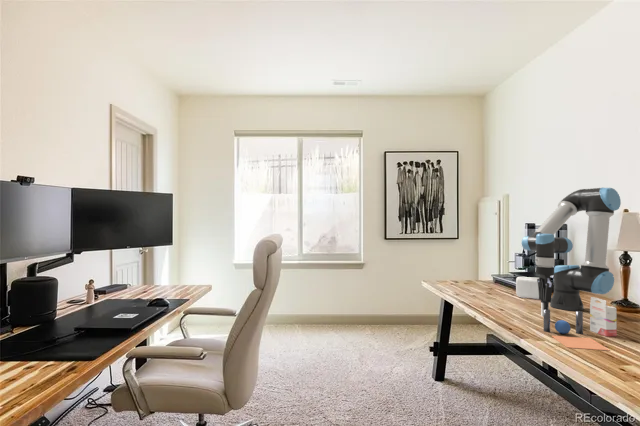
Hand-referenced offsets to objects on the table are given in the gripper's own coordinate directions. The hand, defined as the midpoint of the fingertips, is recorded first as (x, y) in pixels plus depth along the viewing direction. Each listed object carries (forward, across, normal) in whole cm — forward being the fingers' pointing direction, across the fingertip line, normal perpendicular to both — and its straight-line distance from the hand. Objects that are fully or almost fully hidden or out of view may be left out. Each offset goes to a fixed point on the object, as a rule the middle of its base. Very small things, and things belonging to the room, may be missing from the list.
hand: (544, 316), depth 175 cm
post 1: (+2, +19, -6) cm, 20 cm away
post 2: (+2, +19, +6) cm, 20 cm away
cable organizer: (+2, -56, +12) cm, 57 cm away
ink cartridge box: (+2, +17, +16) cm, 23 cm away
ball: (-1, +21, -1) cm, 21 cm away
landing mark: (+2, +33, 0) cm, 33 cm away
